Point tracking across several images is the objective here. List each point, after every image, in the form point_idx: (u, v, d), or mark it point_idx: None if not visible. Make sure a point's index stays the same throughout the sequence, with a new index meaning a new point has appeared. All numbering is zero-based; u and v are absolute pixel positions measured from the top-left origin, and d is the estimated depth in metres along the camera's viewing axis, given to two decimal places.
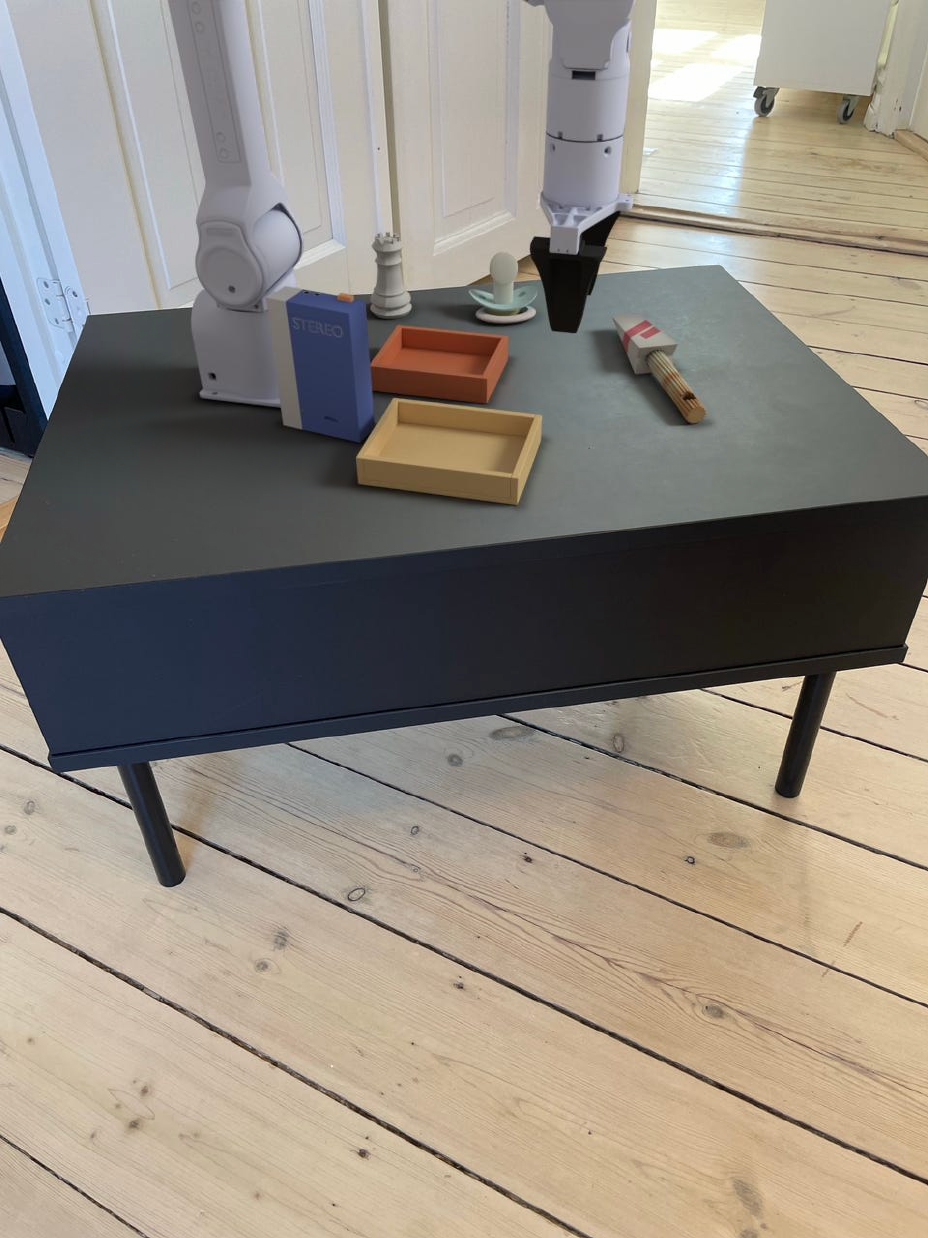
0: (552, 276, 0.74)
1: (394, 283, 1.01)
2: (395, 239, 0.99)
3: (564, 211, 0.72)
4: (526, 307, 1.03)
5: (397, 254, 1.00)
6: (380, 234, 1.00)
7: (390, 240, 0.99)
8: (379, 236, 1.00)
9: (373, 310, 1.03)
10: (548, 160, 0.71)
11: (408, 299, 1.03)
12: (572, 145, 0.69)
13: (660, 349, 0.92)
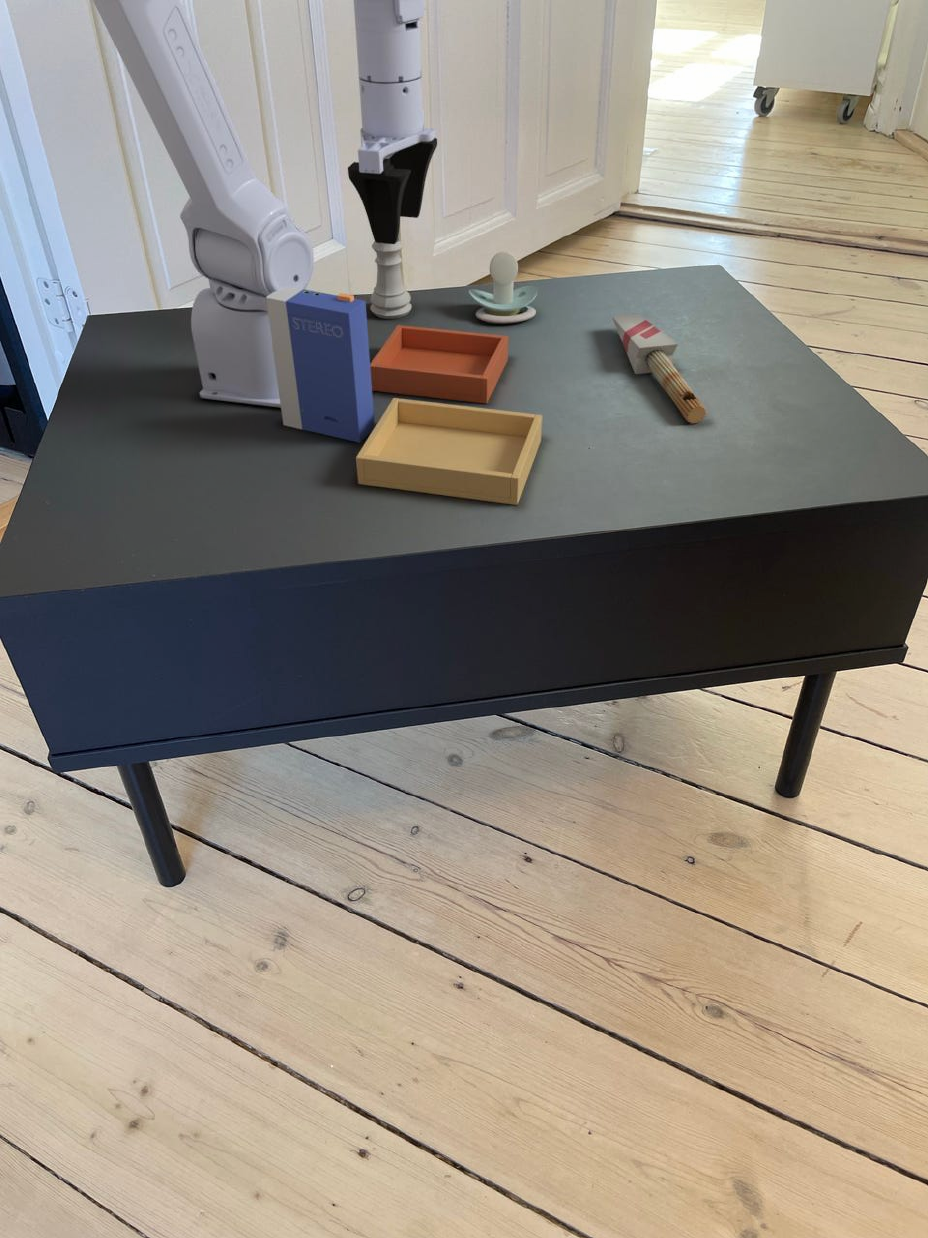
0: (370, 195, 0.91)
1: (394, 283, 1.01)
2: None
3: (375, 141, 0.89)
4: (526, 307, 1.03)
5: (397, 254, 1.00)
6: None
7: None
8: None
9: (373, 310, 1.03)
10: (361, 99, 0.88)
11: (408, 299, 1.03)
12: (376, 86, 0.86)
13: (660, 349, 0.92)
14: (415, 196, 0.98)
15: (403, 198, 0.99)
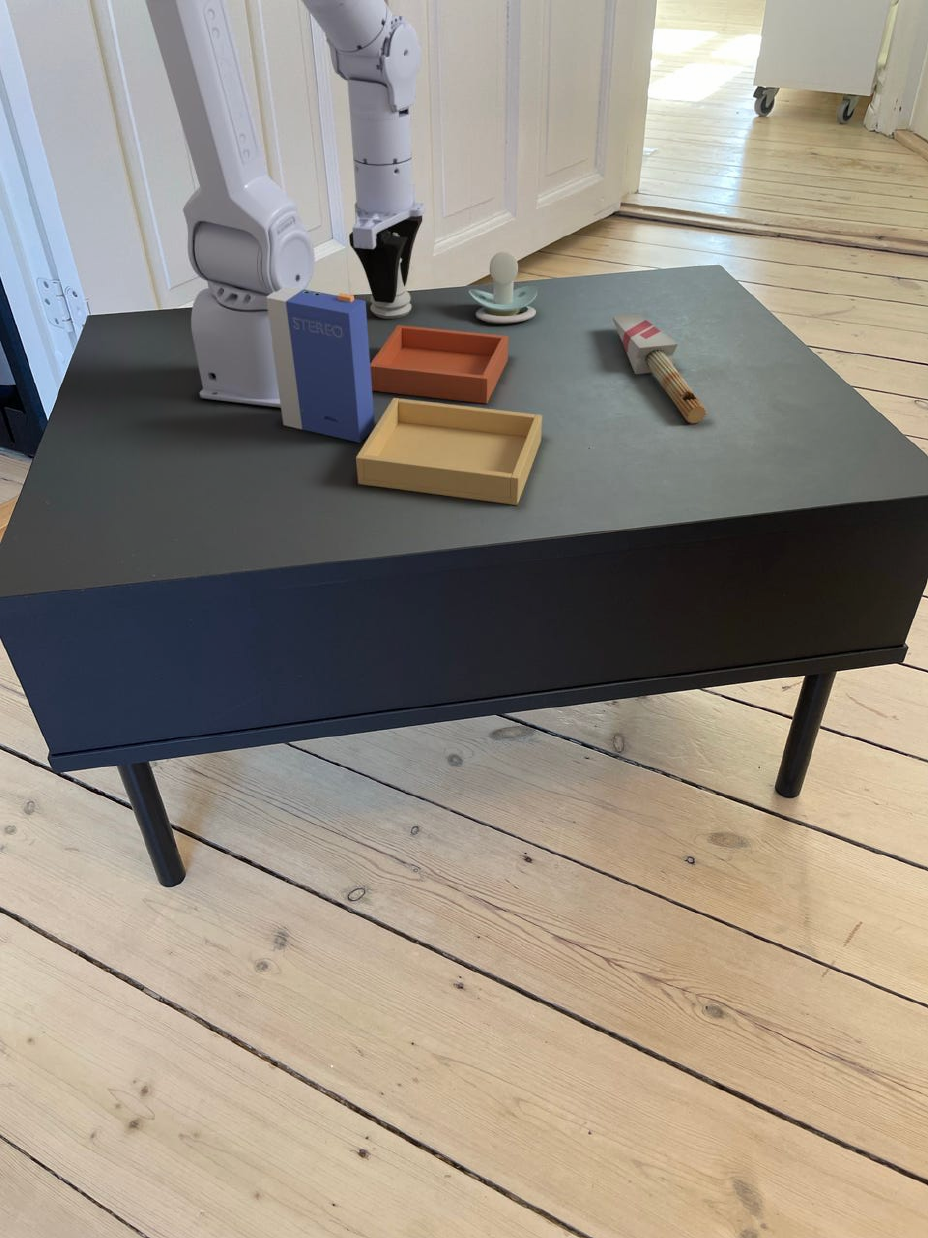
0: (369, 259, 0.98)
1: None
2: None
3: (369, 216, 0.95)
4: (526, 307, 1.03)
5: None
6: None
7: None
8: None
9: (373, 310, 1.03)
10: (355, 178, 0.95)
11: (408, 299, 1.03)
12: (369, 167, 0.92)
13: (660, 349, 0.92)
14: (401, 268, 1.03)
15: None
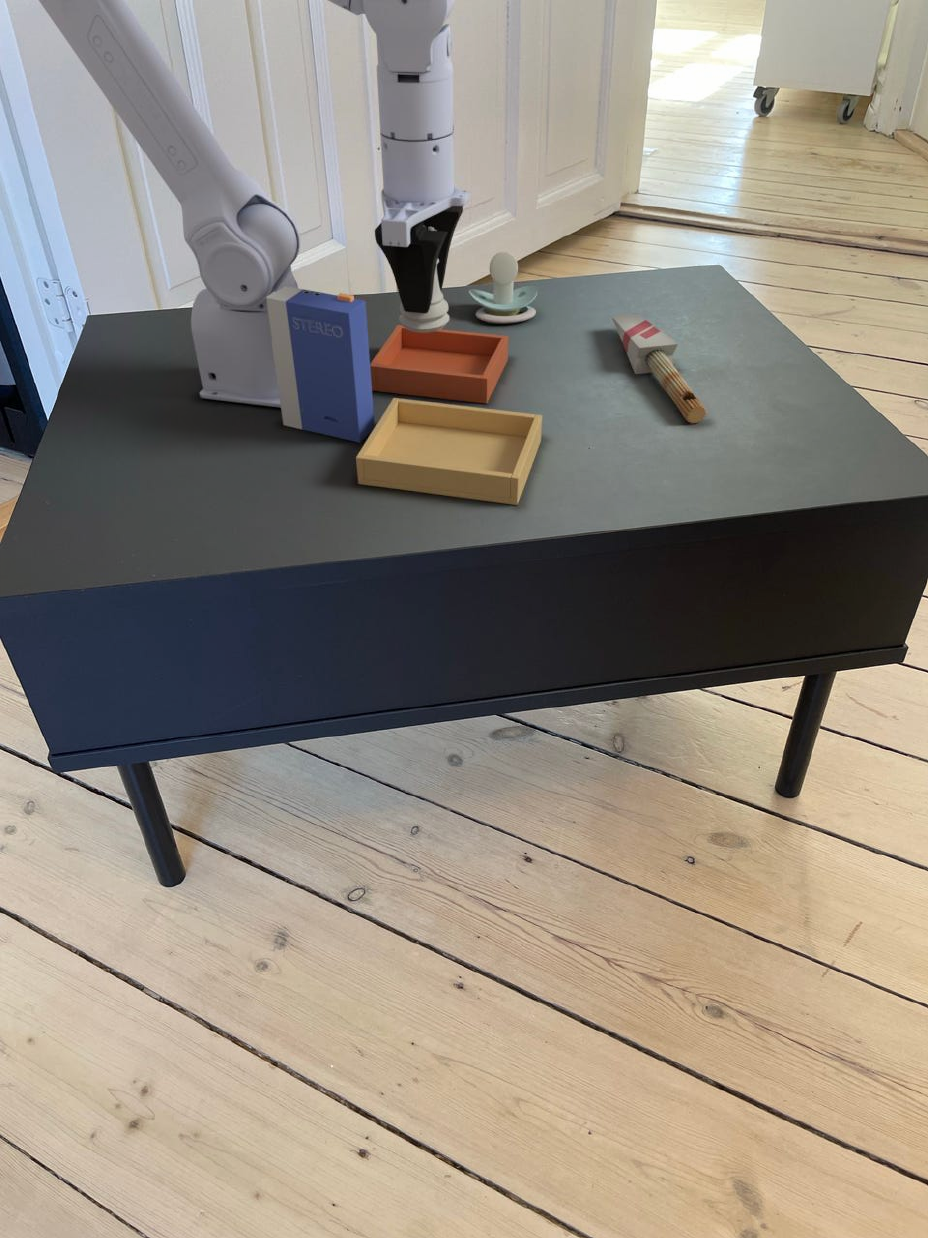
0: (399, 259, 0.79)
1: None
2: None
3: (400, 206, 0.76)
4: (526, 307, 1.03)
5: None
6: None
7: None
8: None
9: (403, 322, 0.84)
10: (383, 158, 0.76)
11: (446, 308, 0.84)
12: (401, 144, 0.73)
13: (660, 349, 0.92)
14: (437, 271, 0.84)
15: None
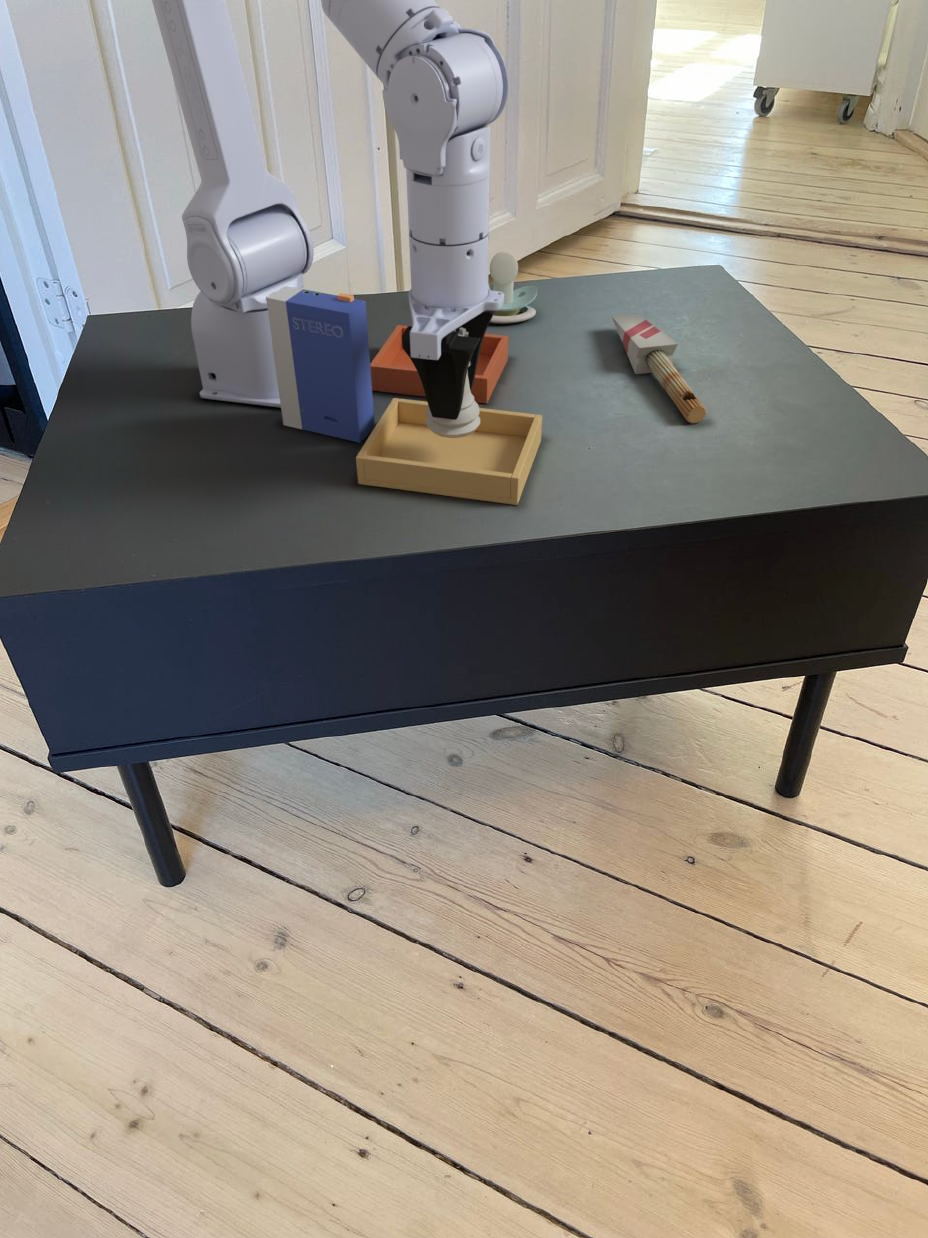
0: (427, 365, 0.73)
1: None
2: None
3: (429, 312, 0.70)
4: (526, 307, 1.03)
5: None
6: None
7: None
8: None
9: (430, 426, 0.78)
10: (412, 260, 0.69)
11: (477, 412, 0.78)
12: (432, 248, 0.67)
13: (660, 349, 0.92)
14: None
15: None
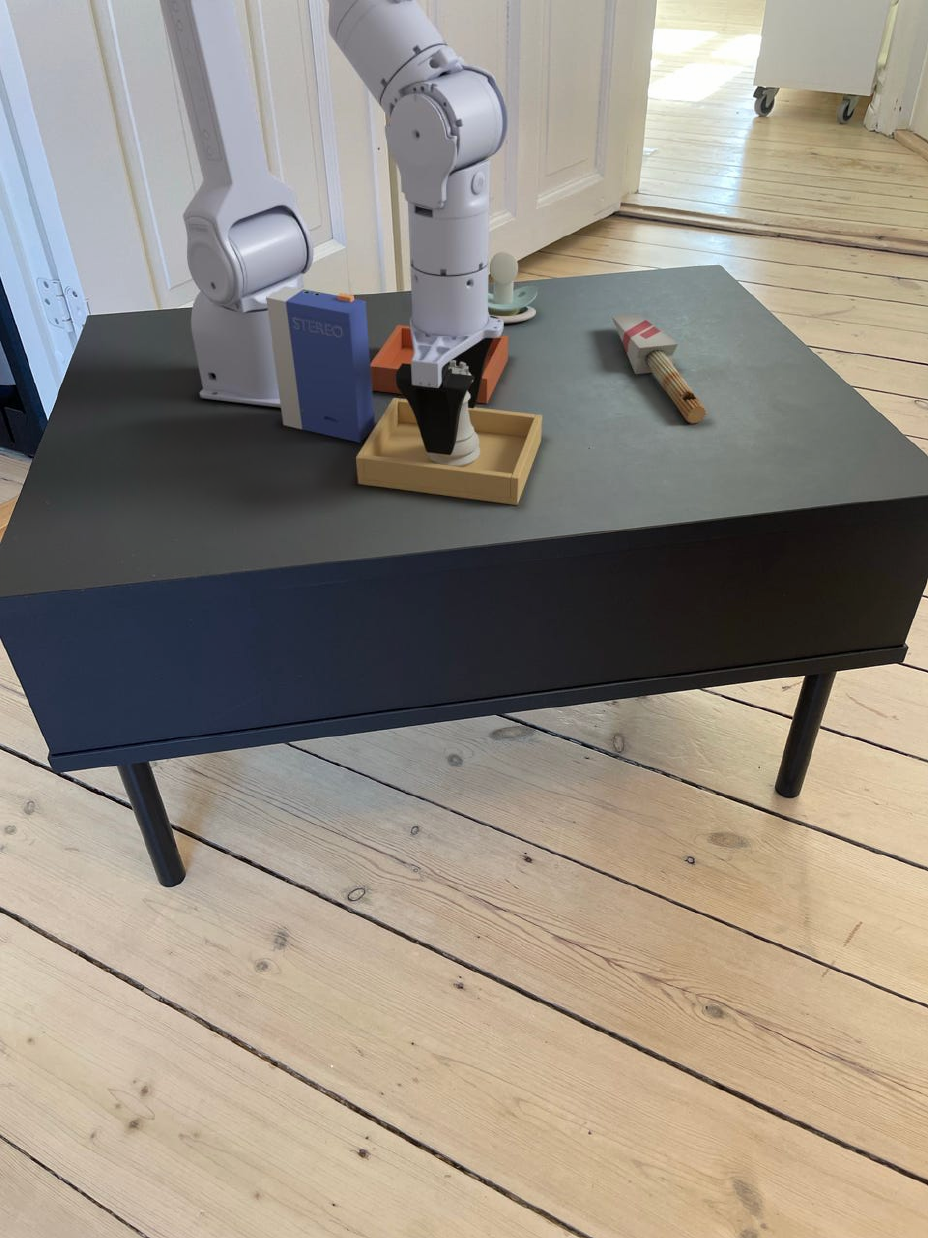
0: (422, 402, 0.73)
1: (460, 425, 0.78)
2: (464, 373, 0.75)
3: (430, 340, 0.71)
4: (526, 307, 1.03)
5: None
6: None
7: (457, 373, 0.76)
8: None
9: (431, 457, 0.80)
10: (413, 289, 0.71)
11: (477, 443, 0.79)
12: (433, 278, 0.69)
13: (660, 349, 0.92)
14: (472, 385, 0.80)
15: None
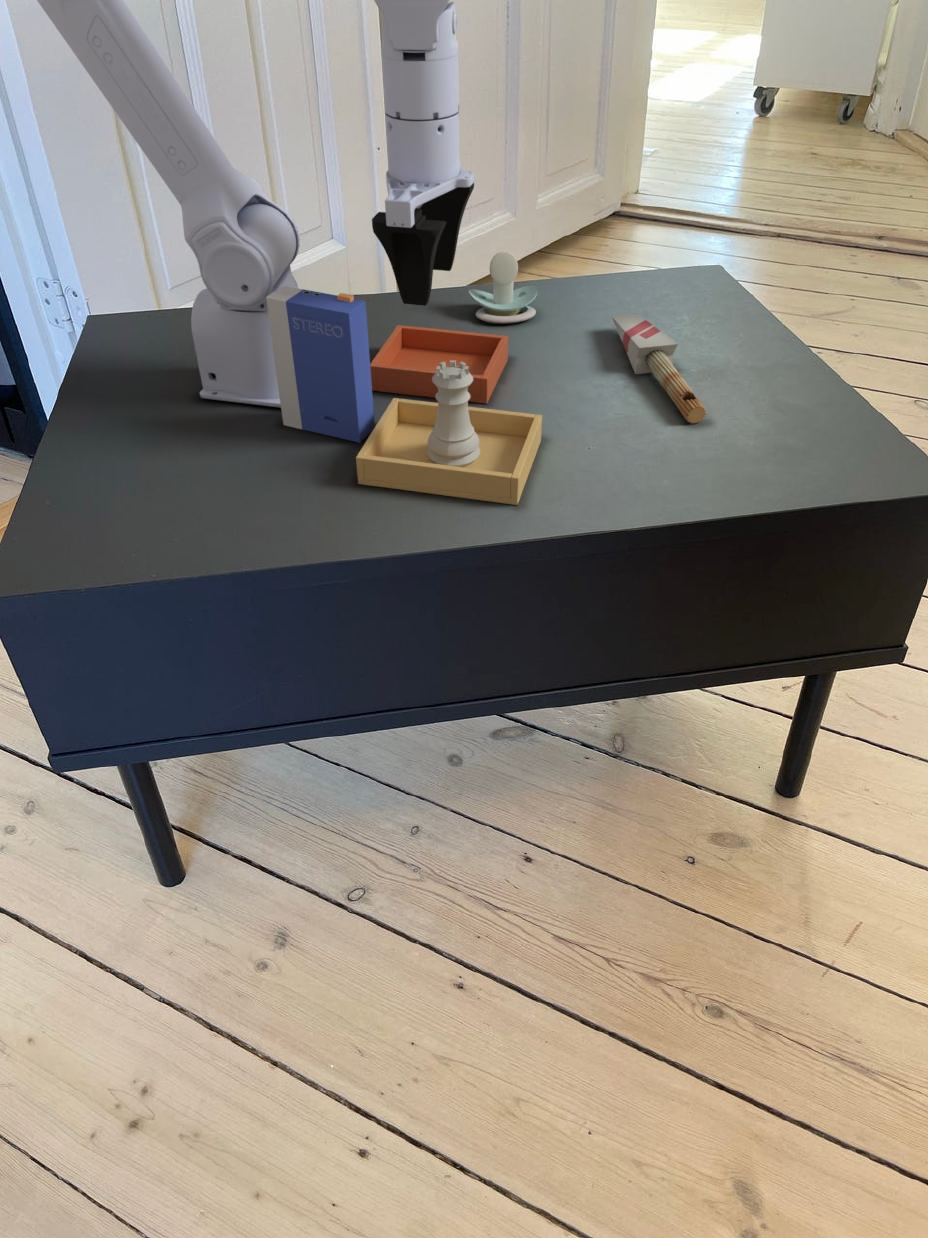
0: (397, 250, 0.77)
1: (460, 425, 0.78)
2: (464, 373, 0.75)
3: (405, 187, 0.75)
4: (526, 307, 1.03)
5: (465, 390, 0.76)
6: (443, 364, 0.76)
7: (457, 373, 0.76)
8: (442, 367, 0.76)
9: (431, 457, 0.80)
10: (388, 138, 0.75)
11: (477, 443, 0.79)
12: (406, 124, 0.73)
13: (660, 349, 0.92)
14: (448, 247, 0.84)
15: None
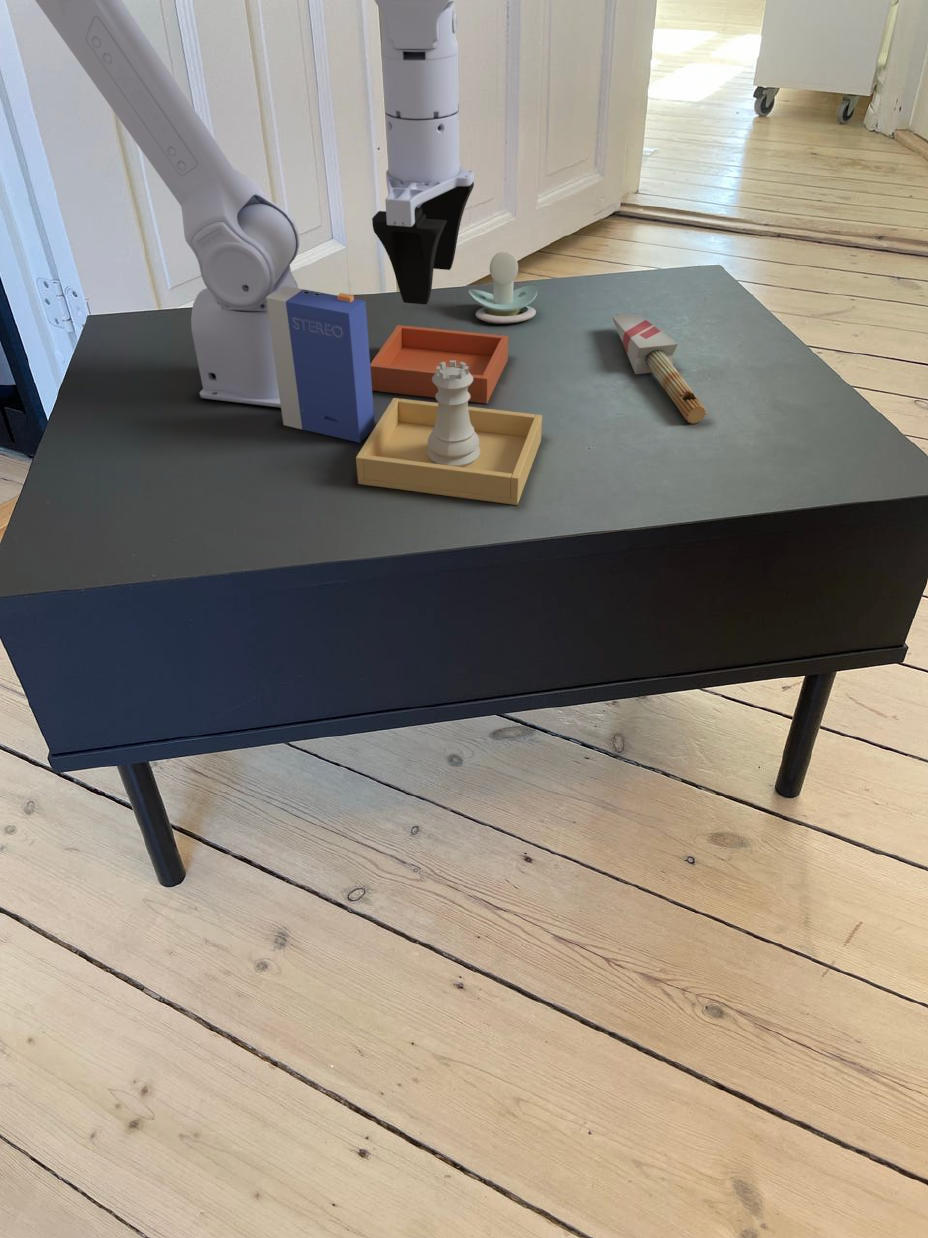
0: (398, 249, 0.77)
1: (460, 425, 0.78)
2: (464, 373, 0.75)
3: (405, 186, 0.76)
4: (526, 307, 1.03)
5: (465, 390, 0.76)
6: (443, 364, 0.76)
7: (457, 373, 0.76)
8: (442, 367, 0.76)
9: (431, 457, 0.80)
10: (388, 137, 0.75)
11: (477, 443, 0.79)
12: (406, 123, 0.73)
13: (660, 349, 0.92)
14: (448, 246, 0.85)
15: None
